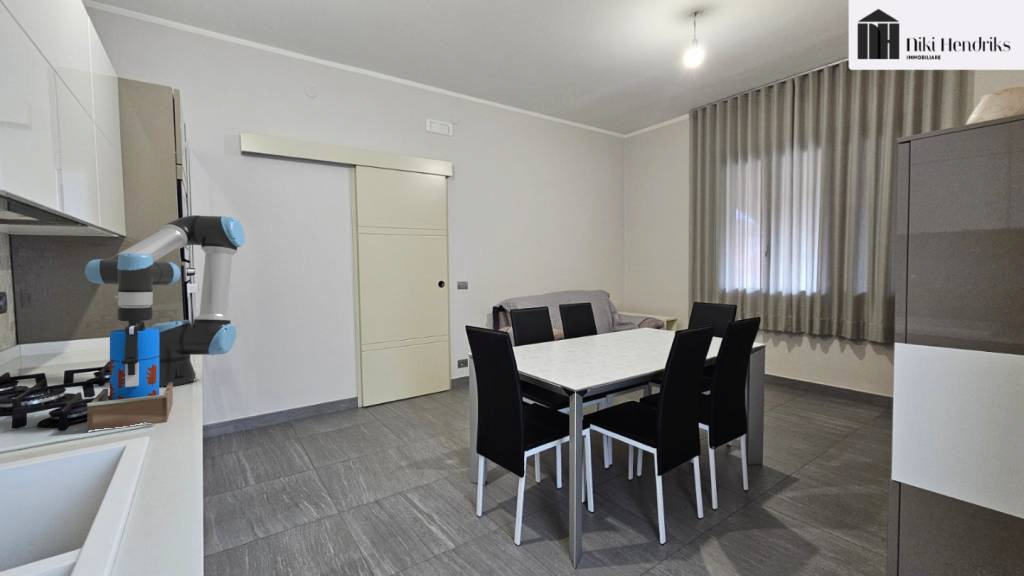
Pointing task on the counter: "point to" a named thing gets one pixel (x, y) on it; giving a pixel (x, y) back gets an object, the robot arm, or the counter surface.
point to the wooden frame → (128, 410)
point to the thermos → (146, 359)
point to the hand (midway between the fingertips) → (135, 381)
